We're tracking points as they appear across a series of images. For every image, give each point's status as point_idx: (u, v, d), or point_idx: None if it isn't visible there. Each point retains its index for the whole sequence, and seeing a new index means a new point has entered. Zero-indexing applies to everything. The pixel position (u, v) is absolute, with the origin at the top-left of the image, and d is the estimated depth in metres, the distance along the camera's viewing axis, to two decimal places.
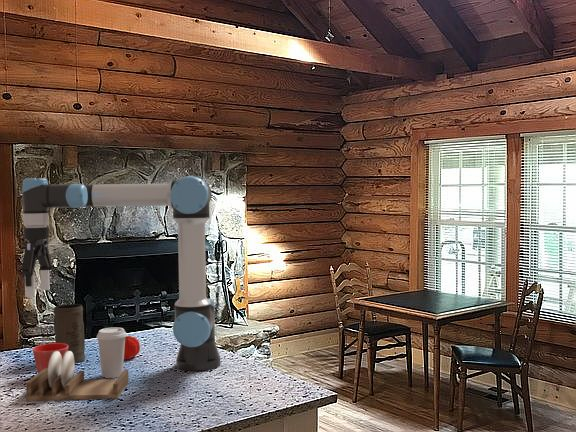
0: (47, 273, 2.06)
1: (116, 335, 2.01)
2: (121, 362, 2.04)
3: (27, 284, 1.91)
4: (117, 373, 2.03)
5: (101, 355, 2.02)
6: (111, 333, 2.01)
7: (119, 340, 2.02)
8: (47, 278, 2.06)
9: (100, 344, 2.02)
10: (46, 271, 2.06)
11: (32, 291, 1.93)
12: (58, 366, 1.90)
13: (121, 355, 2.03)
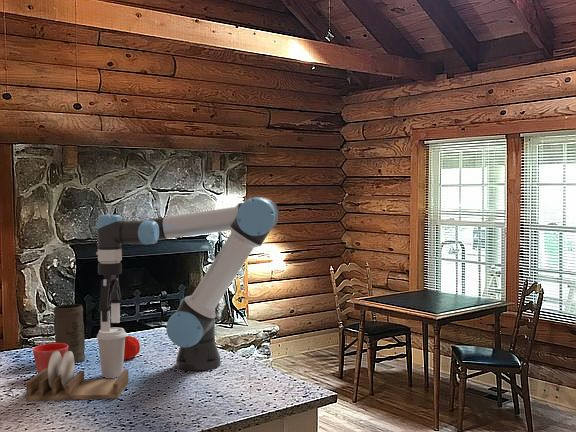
0: (118, 306, 2.11)
1: (116, 335, 2.01)
2: (121, 362, 2.04)
3: (103, 319, 1.96)
4: (117, 373, 2.03)
5: (101, 355, 2.02)
6: (111, 333, 2.01)
7: (119, 340, 2.02)
8: (118, 311, 2.11)
9: (100, 344, 2.02)
10: (117, 304, 2.11)
11: (108, 326, 1.97)
12: (58, 366, 1.90)
13: (121, 355, 2.03)
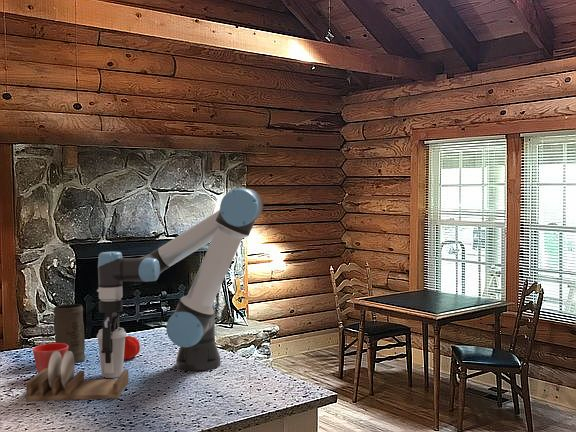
0: None
1: (116, 334, 2.01)
2: (121, 362, 2.04)
3: (107, 361, 1.99)
4: (117, 373, 2.03)
5: (101, 355, 2.02)
6: (111, 332, 2.01)
7: (119, 339, 2.02)
8: None
9: (100, 344, 2.02)
10: None
11: (111, 367, 2.01)
12: (58, 366, 1.90)
13: (121, 355, 2.03)
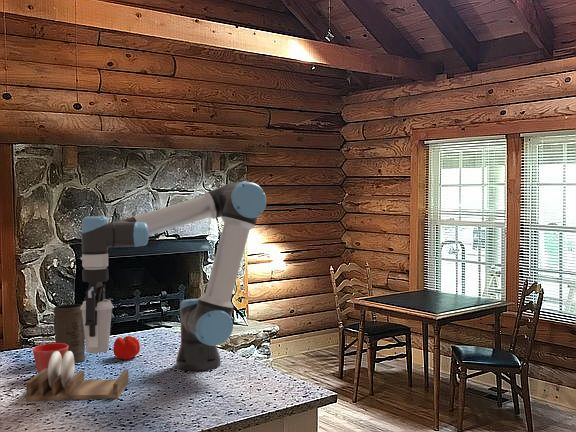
0: None
1: (101, 306, 1.85)
2: (106, 336, 1.88)
3: (91, 334, 1.83)
4: (101, 348, 1.87)
5: (85, 328, 1.86)
6: None
7: (104, 311, 1.86)
8: None
9: (84, 316, 1.86)
10: None
11: (96, 341, 1.84)
12: (58, 366, 1.90)
13: (106, 328, 1.87)
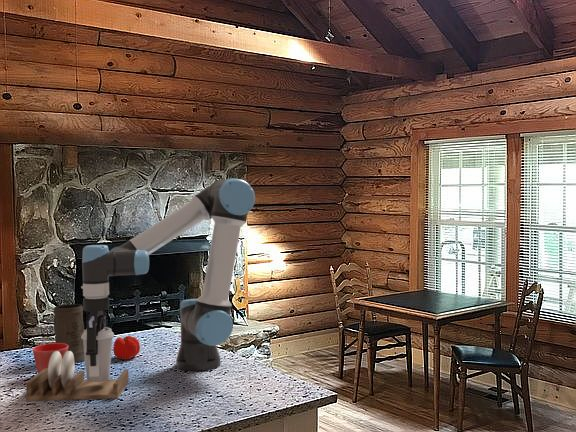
0: None
1: (102, 335, 1.86)
2: (107, 365, 1.88)
3: (92, 364, 1.84)
4: (102, 377, 1.87)
5: (86, 357, 1.87)
6: None
7: (105, 341, 1.86)
8: None
9: (85, 345, 1.86)
10: None
11: (96, 370, 1.85)
12: (58, 366, 1.90)
13: (107, 357, 1.88)
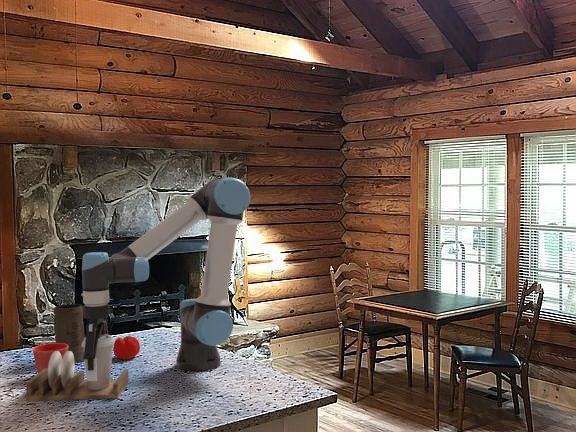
0: None
1: (102, 343, 1.85)
2: (108, 372, 1.88)
3: (89, 368, 1.80)
4: (103, 384, 1.87)
5: None
6: None
7: (105, 348, 1.86)
8: None
9: None
10: None
11: (94, 375, 1.82)
12: (58, 366, 1.90)
13: (108, 365, 1.88)
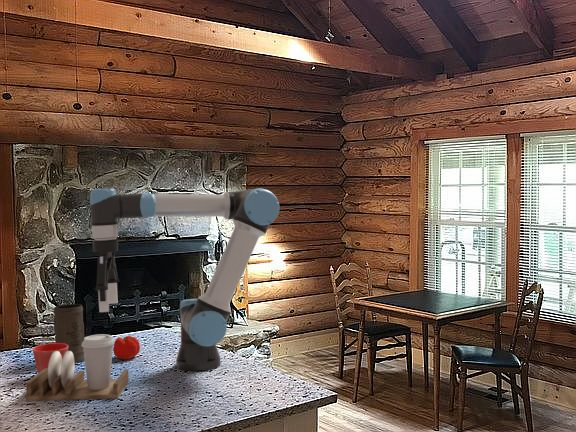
0: (115, 286, 1.99)
1: (102, 343, 1.85)
2: (108, 372, 1.88)
3: (102, 299, 1.85)
4: (103, 384, 1.87)
5: (86, 364, 1.87)
6: (97, 341, 1.85)
7: (105, 348, 1.86)
8: (115, 291, 2.00)
9: (85, 352, 1.86)
10: (114, 284, 1.99)
11: (106, 306, 1.86)
12: (58, 366, 1.90)
13: (108, 365, 1.88)
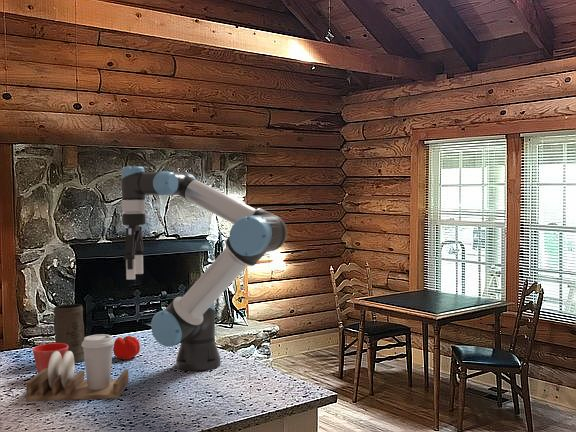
0: (141, 258, 2.15)
1: (102, 343, 1.85)
2: (108, 372, 1.88)
3: (129, 267, 2.01)
4: (103, 384, 1.87)
5: (86, 364, 1.87)
6: (97, 341, 1.85)
7: (105, 348, 1.86)
8: (141, 262, 2.15)
9: (85, 352, 1.86)
10: (140, 256, 2.15)
11: (133, 274, 2.02)
12: (58, 366, 1.90)
13: (108, 365, 1.88)
